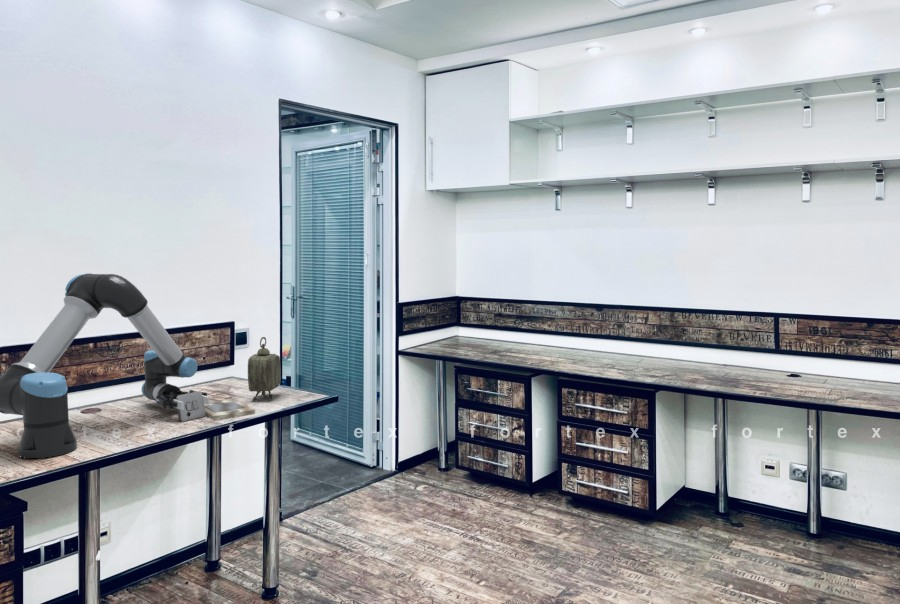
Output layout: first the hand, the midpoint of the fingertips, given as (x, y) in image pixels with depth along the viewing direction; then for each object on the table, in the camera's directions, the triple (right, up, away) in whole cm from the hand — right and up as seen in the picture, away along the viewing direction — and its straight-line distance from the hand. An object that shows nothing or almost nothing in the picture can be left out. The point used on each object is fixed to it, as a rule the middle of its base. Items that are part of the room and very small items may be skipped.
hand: (195, 403), depth 230 cm
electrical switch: (-3, -6, +3) cm, 8 cm away
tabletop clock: (+15, -3, +33) cm, 37 cm away
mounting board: (+6, -5, +13) cm, 15 cm away
